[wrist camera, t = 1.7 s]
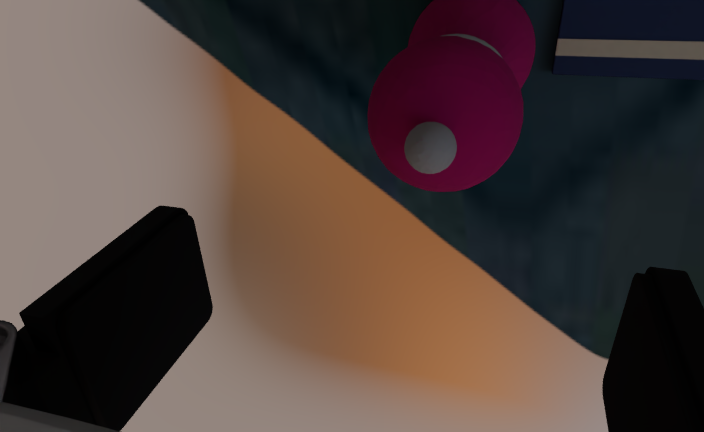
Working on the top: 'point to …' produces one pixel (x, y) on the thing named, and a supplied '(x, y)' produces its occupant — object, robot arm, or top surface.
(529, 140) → the top surface
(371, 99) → the pepper mill
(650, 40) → the tea towel
